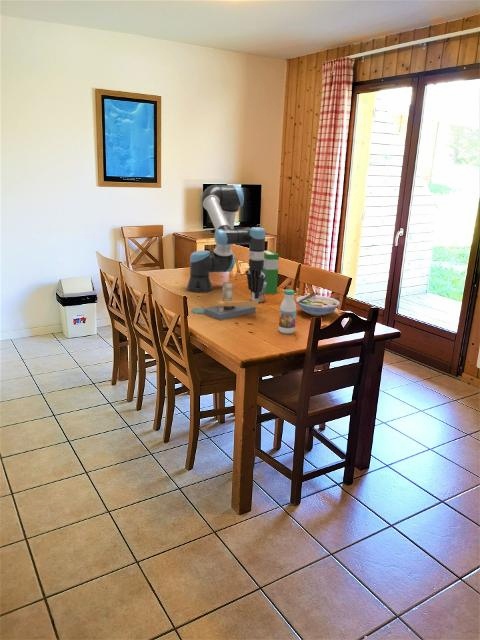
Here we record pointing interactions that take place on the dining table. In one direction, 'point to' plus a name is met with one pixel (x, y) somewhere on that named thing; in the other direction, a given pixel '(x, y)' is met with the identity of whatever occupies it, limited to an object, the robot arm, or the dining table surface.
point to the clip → (237, 303)
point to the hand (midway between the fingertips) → (254, 304)
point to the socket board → (229, 311)
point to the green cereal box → (271, 271)
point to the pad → (198, 310)
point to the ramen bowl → (317, 304)
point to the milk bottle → (287, 313)
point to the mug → (261, 294)
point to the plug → (227, 293)
